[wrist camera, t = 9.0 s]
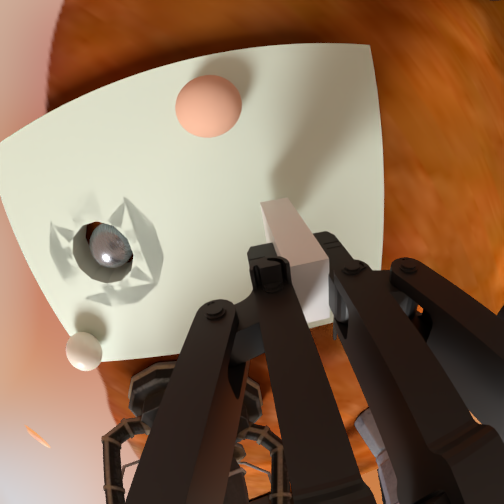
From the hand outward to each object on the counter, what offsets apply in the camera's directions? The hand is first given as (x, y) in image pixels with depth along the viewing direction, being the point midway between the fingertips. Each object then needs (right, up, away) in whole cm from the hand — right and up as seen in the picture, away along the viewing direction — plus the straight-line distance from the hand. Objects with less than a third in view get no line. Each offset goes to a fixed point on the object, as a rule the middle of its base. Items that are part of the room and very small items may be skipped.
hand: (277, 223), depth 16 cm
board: (-6, +1, +4) cm, 7 cm away
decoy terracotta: (-3, +5, -3) cm, 7 cm away
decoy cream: (-15, -9, +3) cm, 18 cm away
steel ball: (-11, -1, +2) cm, 11 cm away
